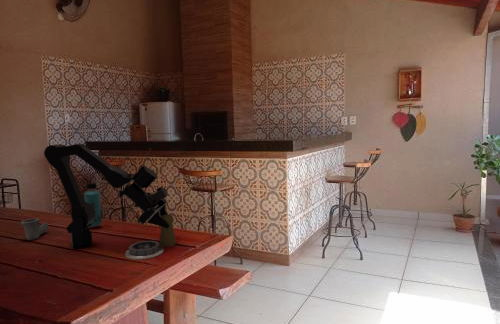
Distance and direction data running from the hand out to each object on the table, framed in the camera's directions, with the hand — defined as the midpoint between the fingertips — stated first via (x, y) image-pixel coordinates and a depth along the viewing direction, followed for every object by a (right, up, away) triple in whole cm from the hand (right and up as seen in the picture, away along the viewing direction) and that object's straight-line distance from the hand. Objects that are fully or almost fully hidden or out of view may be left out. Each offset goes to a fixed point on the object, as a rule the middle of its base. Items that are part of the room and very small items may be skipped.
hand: (170, 225), depth 140 cm
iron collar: (-7, -8, -8) cm, 14 cm away
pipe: (-59, -8, +15) cm, 61 cm away
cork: (-1, -7, +1) cm, 7 cm away
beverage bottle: (-39, -6, +26) cm, 47 cm away
